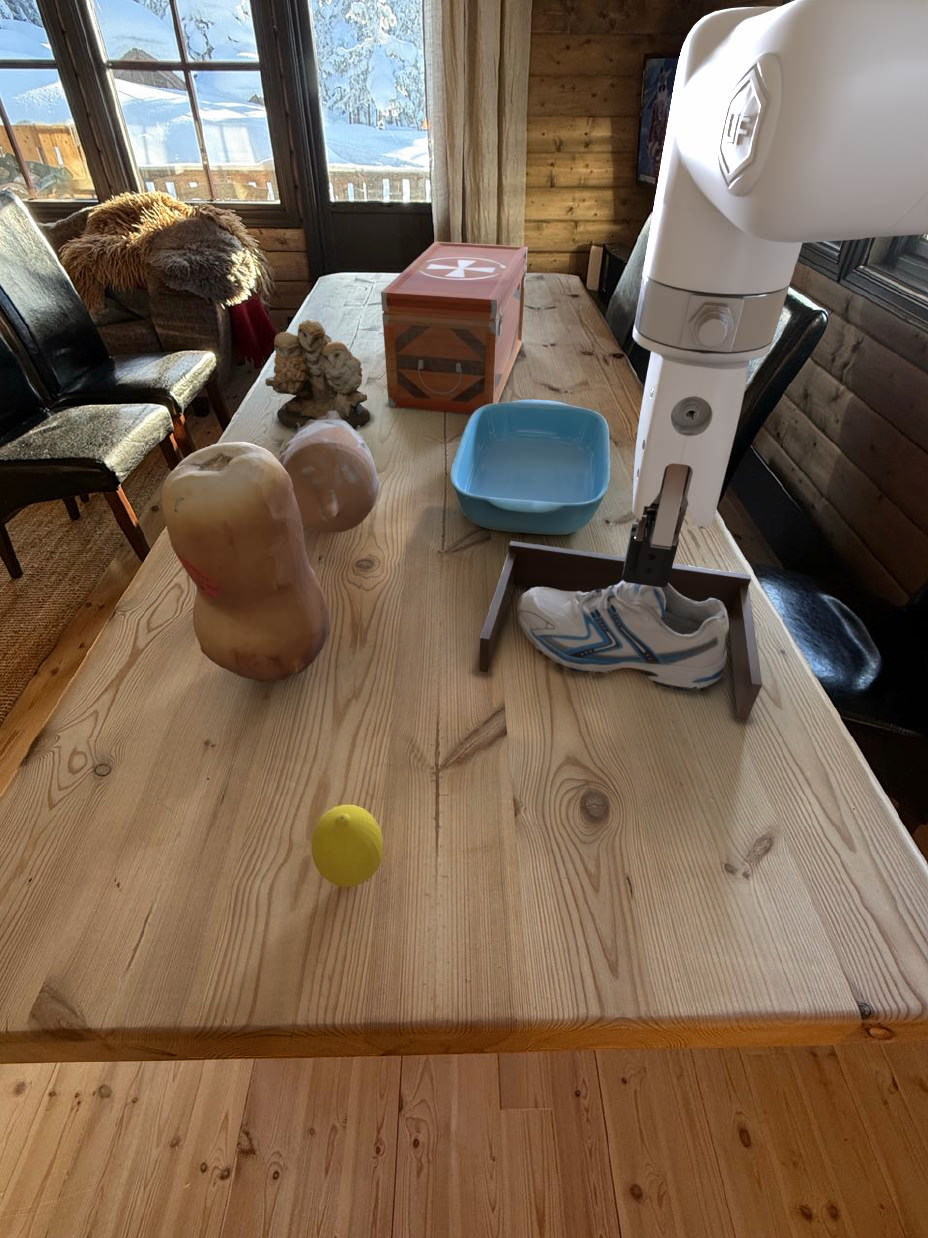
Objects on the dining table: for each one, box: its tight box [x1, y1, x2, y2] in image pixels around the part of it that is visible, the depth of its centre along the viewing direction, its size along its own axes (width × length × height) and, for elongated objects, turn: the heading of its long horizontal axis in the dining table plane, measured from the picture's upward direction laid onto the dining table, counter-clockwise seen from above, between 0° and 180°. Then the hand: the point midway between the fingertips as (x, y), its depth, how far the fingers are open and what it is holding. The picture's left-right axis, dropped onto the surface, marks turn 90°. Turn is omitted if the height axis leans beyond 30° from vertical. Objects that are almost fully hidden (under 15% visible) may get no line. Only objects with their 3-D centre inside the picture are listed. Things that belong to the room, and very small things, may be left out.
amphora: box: [277, 411, 380, 534], centre depth 93 cm, size 14×16×30 cm
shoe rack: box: [478, 540, 763, 720], centre depth 74 cm, size 17×28×6 cm, turn 76°
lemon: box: [311, 804, 384, 888], centre depth 52 cm, size 6×6×8 cm
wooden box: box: [380, 241, 529, 415], centre depth 132 cm, size 20×41×20 cm, turn 169°
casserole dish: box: [450, 399, 611, 536], centre depth 100 cm, size 37×22×7 cm, turn 171°
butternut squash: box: [161, 441, 331, 683], centre depth 64 cm, size 14×13×25 cm
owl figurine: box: [264, 318, 371, 431], centre depth 115 cm, size 18×12×17 cm, turn 87°
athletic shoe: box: [517, 580, 730, 691], centre depth 71 cm, size 10×23×12 cm, turn 78°
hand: (644, 578), depth 48 cm, fingers closed
